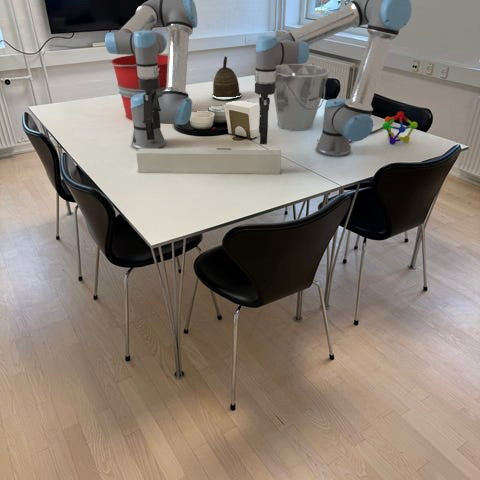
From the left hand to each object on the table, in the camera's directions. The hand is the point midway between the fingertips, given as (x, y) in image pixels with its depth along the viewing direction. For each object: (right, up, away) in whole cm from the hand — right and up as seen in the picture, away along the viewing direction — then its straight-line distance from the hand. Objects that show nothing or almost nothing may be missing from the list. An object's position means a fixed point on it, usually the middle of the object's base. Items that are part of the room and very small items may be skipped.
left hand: (154, 133), depth 174 cm
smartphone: (+26, -5, +21) cm, 34 cm away
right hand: (+43, -2, 0) cm, 43 cm away
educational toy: (+108, +4, +37) cm, 114 cm away
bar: (+21, -13, +8) cm, 26 cm away
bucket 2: (+63, +19, +60) cm, 89 cm away
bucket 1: (-17, +29, +75) cm, 82 cm away
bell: (+25, +49, +108) cm, 121 cm away
